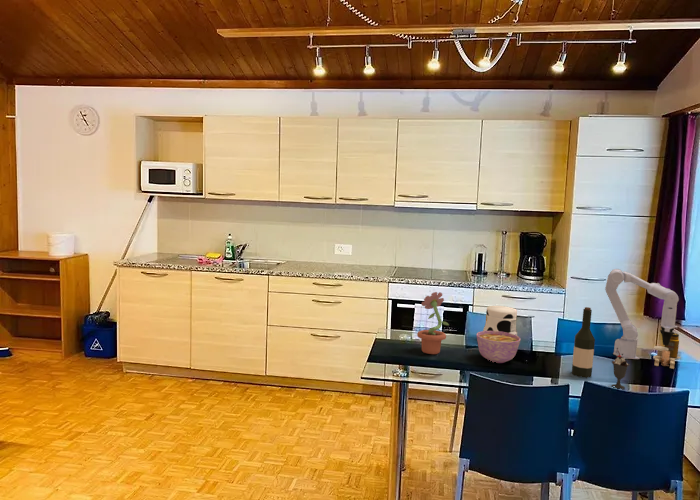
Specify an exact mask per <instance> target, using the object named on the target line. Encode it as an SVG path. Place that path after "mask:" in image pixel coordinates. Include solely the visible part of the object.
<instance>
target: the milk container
mask: <svg viewBox="0 0 700 500" xmlns="http://www.w3.org/2000/svg"><path fill="white" fill-rule="evenodd" d="M485 313H486V314H485V324H484V327H483V330H482V331H500V332H506V333H510V334H514V335H516V336H518V330H517V319H518V318H517V316H518V315H517V314H518V310H517V309H516V308H514V307H511V306H505V305H489V306H487V307H486V311H485Z"/></svg>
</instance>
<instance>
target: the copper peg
mask: <svg viewBox="0 0 700 500" xmlns="http://www.w3.org/2000/svg"><path fill="white" fill-rule="evenodd" d="M669 356H670V351H667V350H663V352H662V361H661V362H660V365H661V366H662V367H669V366H670V364H669Z"/></svg>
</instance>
